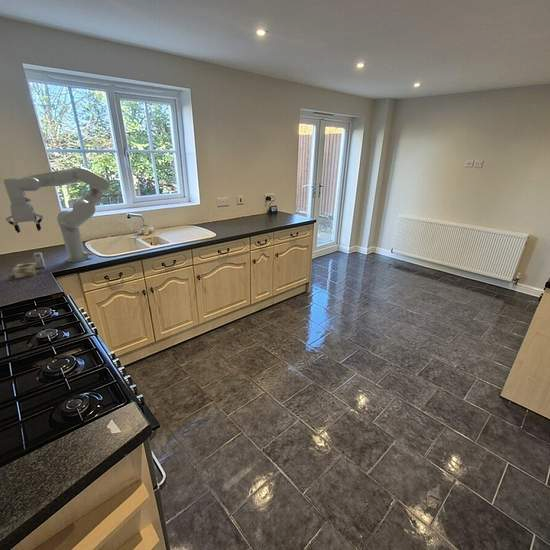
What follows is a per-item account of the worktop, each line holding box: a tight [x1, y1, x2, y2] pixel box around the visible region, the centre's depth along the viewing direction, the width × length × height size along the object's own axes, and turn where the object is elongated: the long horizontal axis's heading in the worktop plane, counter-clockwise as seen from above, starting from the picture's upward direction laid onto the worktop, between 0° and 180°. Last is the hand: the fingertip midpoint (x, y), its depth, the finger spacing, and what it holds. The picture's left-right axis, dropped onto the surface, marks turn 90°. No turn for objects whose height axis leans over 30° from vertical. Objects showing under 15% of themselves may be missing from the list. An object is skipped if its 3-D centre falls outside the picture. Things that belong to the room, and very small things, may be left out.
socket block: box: [12, 261, 46, 279], centre depth 171 cm, size 13×9×5 cm
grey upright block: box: [32, 251, 46, 267], centre depth 180 cm, size 3×6×9 cm, turn 27°
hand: (29, 231), depth 174 cm, fingers open, 9 cm apart
